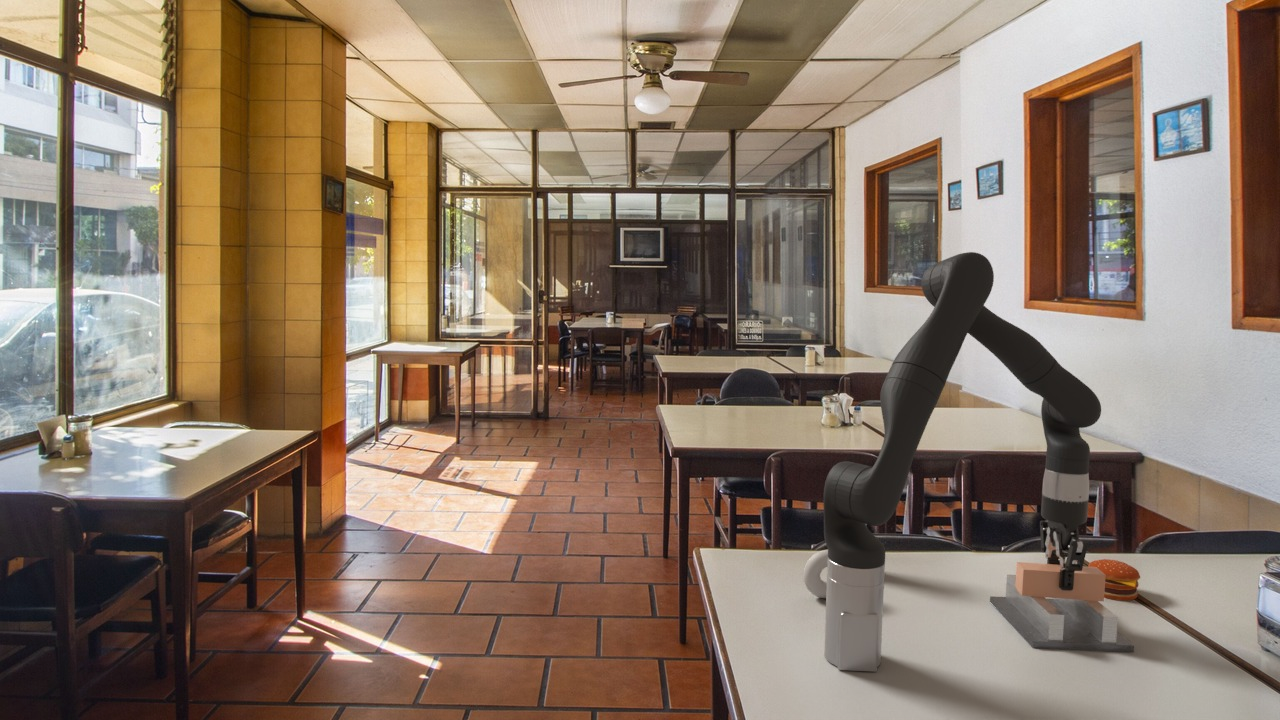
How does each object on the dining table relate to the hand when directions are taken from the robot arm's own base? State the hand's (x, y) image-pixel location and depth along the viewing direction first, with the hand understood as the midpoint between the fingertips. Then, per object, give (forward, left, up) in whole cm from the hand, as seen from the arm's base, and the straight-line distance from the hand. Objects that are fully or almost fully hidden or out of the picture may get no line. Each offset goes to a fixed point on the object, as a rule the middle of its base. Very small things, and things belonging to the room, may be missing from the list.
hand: (1059, 583), depth 146 cm
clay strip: (0, 0, -2) cm, 2 cm away
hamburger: (+18, -19, -8) cm, 27 cm away
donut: (+9, +41, -8) cm, 43 cm away
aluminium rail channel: (0, 0, -8) cm, 8 cm away
